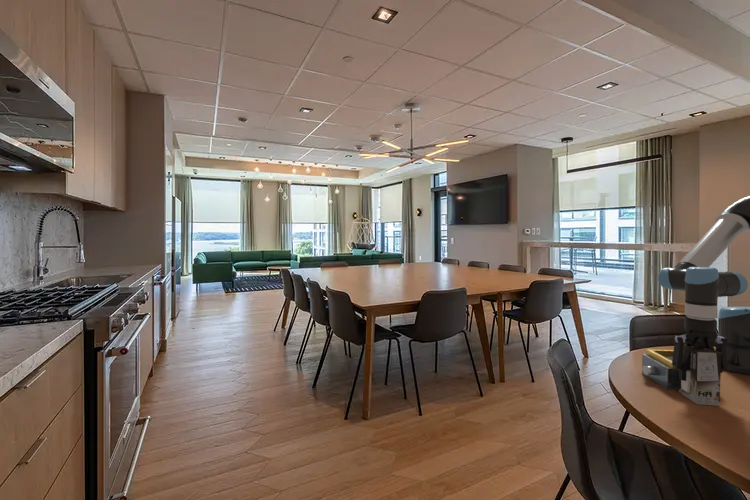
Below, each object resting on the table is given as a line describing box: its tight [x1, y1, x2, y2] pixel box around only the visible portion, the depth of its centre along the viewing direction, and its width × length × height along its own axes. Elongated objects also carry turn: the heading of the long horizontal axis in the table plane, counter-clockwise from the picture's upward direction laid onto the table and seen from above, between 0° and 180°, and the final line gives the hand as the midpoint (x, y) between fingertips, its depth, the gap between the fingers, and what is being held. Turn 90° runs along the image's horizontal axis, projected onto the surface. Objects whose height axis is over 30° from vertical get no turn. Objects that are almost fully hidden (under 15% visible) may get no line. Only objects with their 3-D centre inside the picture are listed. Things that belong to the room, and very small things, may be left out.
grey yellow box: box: [641, 348, 679, 391], centre depth 127 cm, size 17×14×9 cm
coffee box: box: [678, 343, 722, 407], centre depth 113 cm, size 9×6×16 cm
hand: (698, 390), depth 113 cm, fingers closed on coffee box, 7 cm apart
